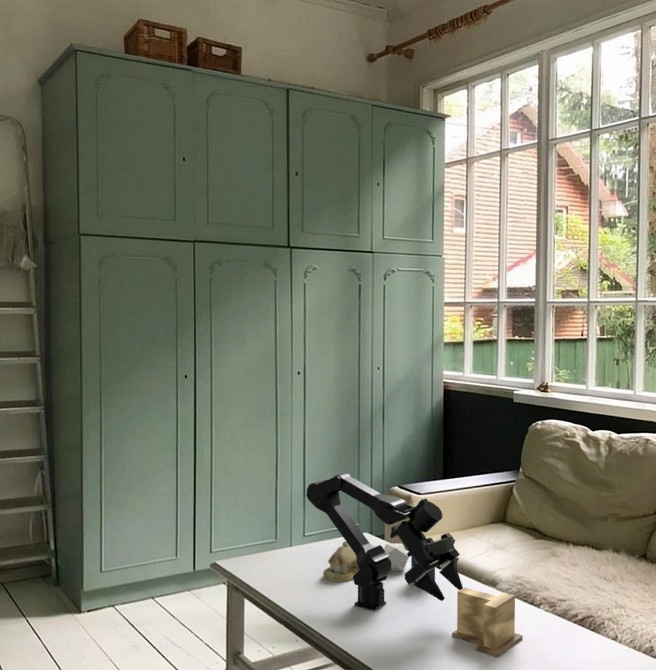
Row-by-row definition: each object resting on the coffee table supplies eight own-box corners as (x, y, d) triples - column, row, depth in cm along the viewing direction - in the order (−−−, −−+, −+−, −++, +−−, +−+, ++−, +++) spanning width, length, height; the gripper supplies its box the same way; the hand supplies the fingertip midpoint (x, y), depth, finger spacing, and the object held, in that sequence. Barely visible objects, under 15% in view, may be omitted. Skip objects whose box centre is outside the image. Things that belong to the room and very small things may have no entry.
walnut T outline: (445, 640, 187) (445, 637, 187) (471, 623, 197) (471, 620, 197) (498, 657, 178) (498, 653, 178) (522, 638, 188) (522, 635, 188)
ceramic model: (339, 565, 242) (339, 533, 241) (371, 571, 236) (371, 539, 236) (316, 578, 229) (317, 545, 229) (350, 585, 224) (350, 551, 224)
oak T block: (450, 635, 188) (450, 595, 187) (470, 622, 195) (471, 583, 195) (495, 649, 180) (495, 607, 180) (514, 635, 188) (515, 595, 187)
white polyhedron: (400, 578, 231) (416, 550, 234) (375, 563, 233) (391, 535, 235) (397, 579, 239) (412, 551, 242) (373, 564, 240) (389, 537, 243)
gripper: (415, 532, 188) (454, 587, 182) (453, 517, 203) (491, 567, 196) (388, 557, 193) (425, 612, 187) (427, 540, 208) (463, 591, 201)
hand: (452, 594), depth 193 cm, fingers open, 9 cm apart
